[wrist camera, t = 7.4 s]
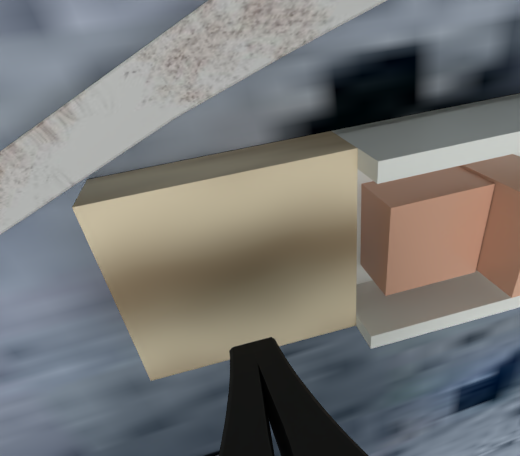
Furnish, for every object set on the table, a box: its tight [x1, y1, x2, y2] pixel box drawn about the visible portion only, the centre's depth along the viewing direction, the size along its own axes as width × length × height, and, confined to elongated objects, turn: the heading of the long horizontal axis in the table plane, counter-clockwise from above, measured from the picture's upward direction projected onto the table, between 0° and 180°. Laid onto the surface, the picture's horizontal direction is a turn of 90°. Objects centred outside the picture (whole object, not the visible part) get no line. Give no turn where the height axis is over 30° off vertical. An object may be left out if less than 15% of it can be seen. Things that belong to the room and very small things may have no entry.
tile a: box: [459, 154, 520, 298], centre depth 16 cm, size 4×4×2 cm
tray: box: [332, 93, 520, 349], centre depth 16 cm, size 9×13×4 cm
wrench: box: [0, 0, 387, 234], centre depth 11 cm, size 8×2×30 cm
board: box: [72, 131, 358, 381], centre depth 16 cm, size 9×10×2 cm
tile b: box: [360, 166, 495, 296], centre depth 16 cm, size 4×4×2 cm
